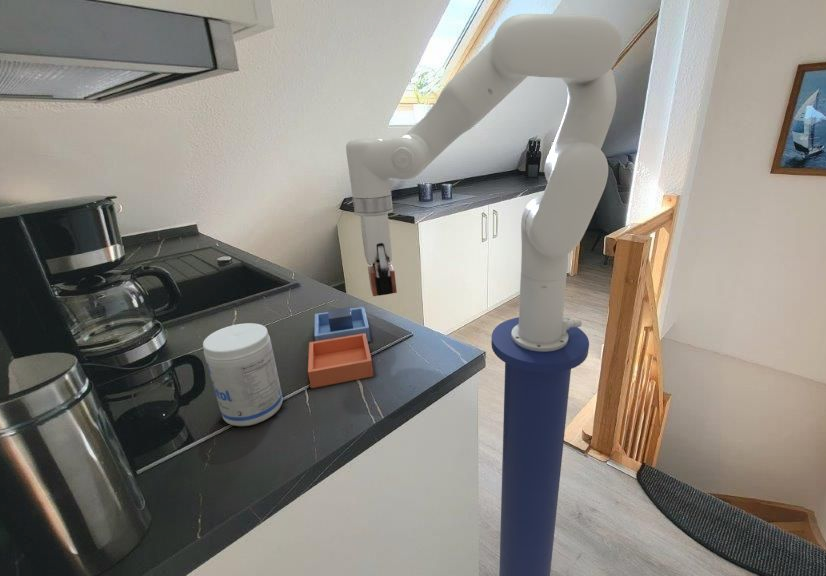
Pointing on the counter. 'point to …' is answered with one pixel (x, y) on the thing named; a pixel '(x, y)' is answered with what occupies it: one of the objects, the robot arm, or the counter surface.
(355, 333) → the blue bin
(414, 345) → the counter surface
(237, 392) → the supplement tub
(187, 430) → the counter surface
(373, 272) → the terracotta block
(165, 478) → the counter surface
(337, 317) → the blue block
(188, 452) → the counter surface
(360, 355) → the terracotta bin
